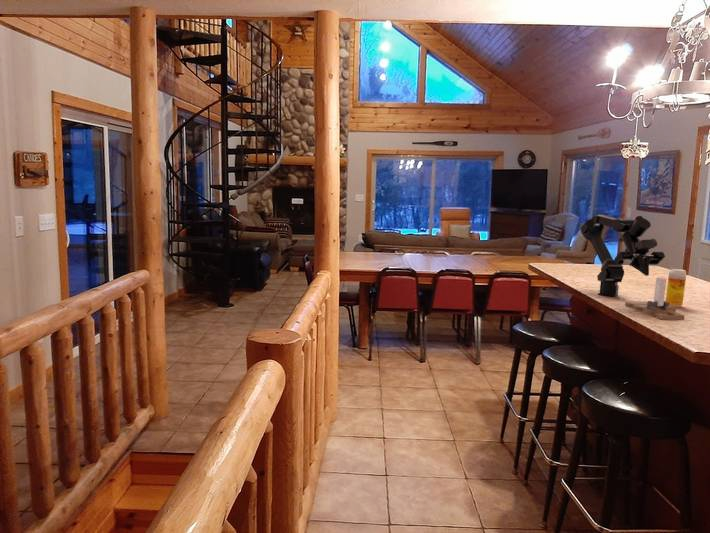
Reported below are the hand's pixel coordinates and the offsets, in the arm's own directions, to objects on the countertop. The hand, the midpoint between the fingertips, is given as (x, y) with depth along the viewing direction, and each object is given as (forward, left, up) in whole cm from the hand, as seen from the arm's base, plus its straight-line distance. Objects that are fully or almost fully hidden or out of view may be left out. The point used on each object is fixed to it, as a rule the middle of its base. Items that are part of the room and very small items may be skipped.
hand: (647, 275), depth 209 cm
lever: (+7, -5, -11) cm, 14 cm away
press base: (+5, -3, -14) cm, 15 cm away
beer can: (+6, +15, -14) cm, 22 cm away
